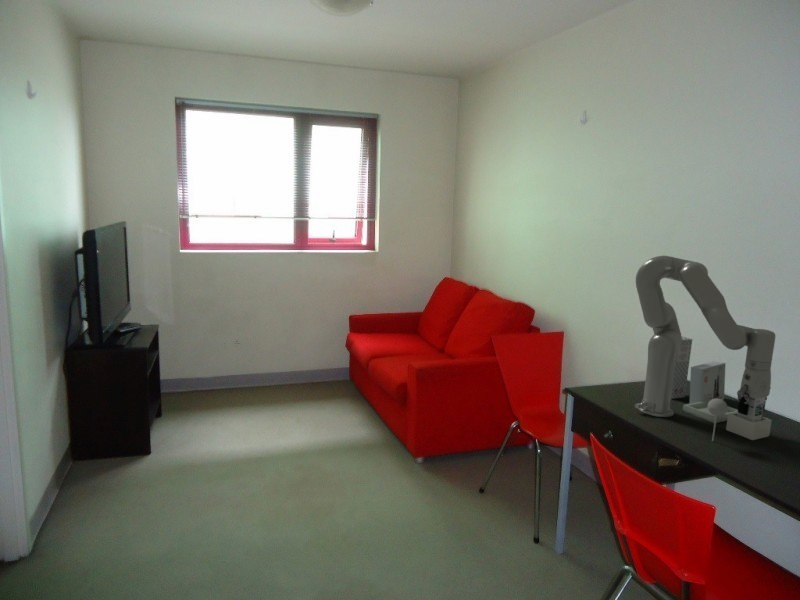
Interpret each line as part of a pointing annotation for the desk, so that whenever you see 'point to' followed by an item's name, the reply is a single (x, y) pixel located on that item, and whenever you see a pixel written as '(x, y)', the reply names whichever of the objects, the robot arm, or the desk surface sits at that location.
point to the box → (681, 368)
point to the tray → (706, 411)
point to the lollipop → (717, 410)
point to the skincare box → (707, 382)
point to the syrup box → (754, 410)
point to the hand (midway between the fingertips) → (750, 411)
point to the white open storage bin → (748, 427)
